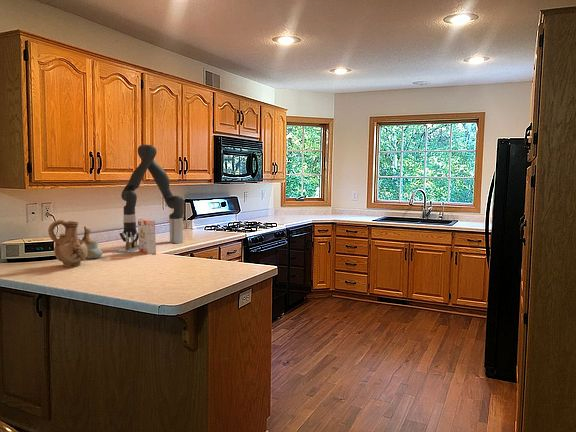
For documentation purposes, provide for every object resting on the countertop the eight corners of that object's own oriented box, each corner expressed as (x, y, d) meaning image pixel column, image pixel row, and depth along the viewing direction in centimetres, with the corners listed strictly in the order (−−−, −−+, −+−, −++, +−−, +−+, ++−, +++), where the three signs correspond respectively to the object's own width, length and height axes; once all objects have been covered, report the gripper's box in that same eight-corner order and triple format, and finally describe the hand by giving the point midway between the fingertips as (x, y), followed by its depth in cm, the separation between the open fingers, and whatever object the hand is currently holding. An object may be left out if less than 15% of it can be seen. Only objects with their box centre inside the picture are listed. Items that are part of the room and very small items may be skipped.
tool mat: (128, 246, 316) (128, 245, 315) (146, 246, 315) (146, 245, 315) (111, 254, 288) (111, 253, 288) (130, 254, 287) (130, 253, 287)
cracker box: (138, 252, 295) (137, 218, 293) (147, 251, 298) (146, 218, 296) (146, 255, 283) (145, 220, 281) (156, 254, 287) (155, 220, 285)
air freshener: (80, 259, 270) (79, 242, 269) (86, 256, 278) (85, 240, 277) (98, 259, 270) (98, 242, 269) (104, 257, 278) (104, 240, 277)
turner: (131, 246, 312) (131, 240, 312) (140, 246, 312) (139, 240, 312) (117, 252, 290) (117, 245, 290) (127, 252, 290) (127, 245, 290)
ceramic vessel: (80, 269, 242) (78, 221, 240) (43, 269, 243) (41, 220, 241) (95, 262, 261) (94, 217, 258) (61, 262, 261) (59, 217, 259)
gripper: (142, 220, 305) (143, 247, 307) (121, 220, 306) (122, 247, 307) (138, 222, 298) (139, 249, 299) (116, 221, 298) (117, 249, 300)
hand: (130, 248), depth 303 cm, fingers closed on turner, 2 cm apart
